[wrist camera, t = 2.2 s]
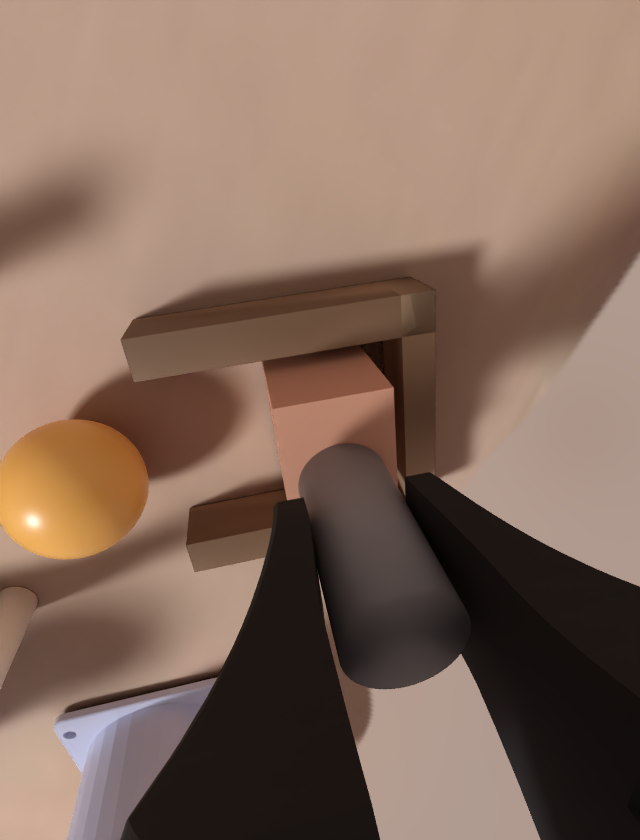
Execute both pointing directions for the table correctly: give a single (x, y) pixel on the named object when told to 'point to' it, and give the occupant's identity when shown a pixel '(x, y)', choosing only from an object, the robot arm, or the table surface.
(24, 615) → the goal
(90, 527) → the ball
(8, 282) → the table surface
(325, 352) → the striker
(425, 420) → the rail frame
